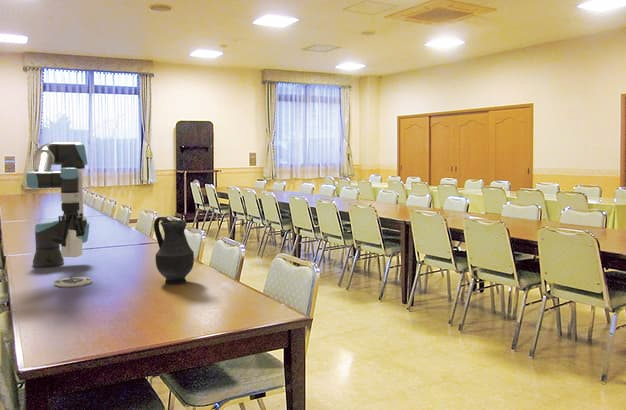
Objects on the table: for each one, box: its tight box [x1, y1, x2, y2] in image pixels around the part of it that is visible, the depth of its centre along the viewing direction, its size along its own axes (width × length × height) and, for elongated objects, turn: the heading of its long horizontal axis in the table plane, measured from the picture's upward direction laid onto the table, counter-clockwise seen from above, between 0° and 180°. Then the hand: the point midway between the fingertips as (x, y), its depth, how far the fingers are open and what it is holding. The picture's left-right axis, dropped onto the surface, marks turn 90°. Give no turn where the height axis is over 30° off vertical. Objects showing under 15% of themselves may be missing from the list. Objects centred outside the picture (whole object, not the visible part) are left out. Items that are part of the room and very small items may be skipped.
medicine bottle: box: [60, 229, 83, 258], centre depth 263 cm, size 7×7×12 cm
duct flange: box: [53, 276, 93, 288], centre depth 265 cm, size 16×16×2 cm
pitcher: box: [153, 216, 195, 285], centre depth 267 cm, size 17×21×30 cm
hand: (72, 251), depth 264 cm, fingers closed on medicine bottle, 9 cm apart
